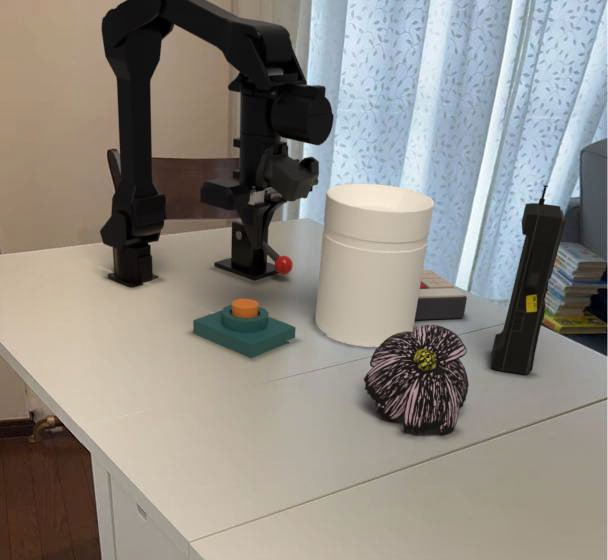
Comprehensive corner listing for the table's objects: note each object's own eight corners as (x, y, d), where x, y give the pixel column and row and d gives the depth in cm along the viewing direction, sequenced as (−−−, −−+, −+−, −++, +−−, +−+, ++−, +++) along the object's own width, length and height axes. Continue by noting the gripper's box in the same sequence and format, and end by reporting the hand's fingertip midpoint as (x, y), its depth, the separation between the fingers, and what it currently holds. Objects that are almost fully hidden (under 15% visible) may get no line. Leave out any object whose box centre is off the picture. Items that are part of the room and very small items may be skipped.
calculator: (432, 267, 145) (469, 292, 133) (429, 291, 148) (464, 318, 136) (376, 268, 142) (408, 294, 130) (373, 292, 145) (404, 320, 133)
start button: (226, 314, 120) (226, 302, 119) (244, 307, 123) (244, 296, 122) (245, 321, 118) (246, 310, 117) (263, 315, 121) (264, 304, 120)
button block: (193, 333, 122) (193, 308, 120) (237, 317, 129) (238, 293, 126) (251, 358, 117) (252, 332, 114) (294, 340, 123) (296, 315, 121)
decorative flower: (354, 354, 97) (409, 288, 104) (334, 415, 107) (385, 350, 114) (459, 414, 95) (506, 342, 102) (429, 470, 105) (474, 401, 112)
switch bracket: (283, 274, 147) (286, 224, 142) (254, 283, 142) (256, 232, 137) (243, 260, 152) (244, 212, 147) (214, 268, 147) (214, 219, 142)
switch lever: (292, 276, 143) (298, 261, 141) (280, 280, 141) (287, 265, 139) (247, 233, 145) (253, 218, 143) (235, 236, 143) (241, 221, 141)
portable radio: (531, 379, 118) (578, 202, 103) (490, 373, 119) (531, 196, 104) (530, 358, 125) (574, 188, 110) (491, 352, 125) (530, 182, 110)
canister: (301, 334, 125) (312, 200, 113) (331, 302, 138) (344, 178, 126) (400, 354, 122) (421, 219, 110) (422, 320, 134) (443, 194, 122)
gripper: (261, 150, 100) (257, 275, 109) (347, 135, 112) (336, 248, 122) (196, 135, 105) (198, 255, 114) (285, 122, 117) (280, 231, 127)
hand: (256, 247), depth 119 cm, fingers closed
